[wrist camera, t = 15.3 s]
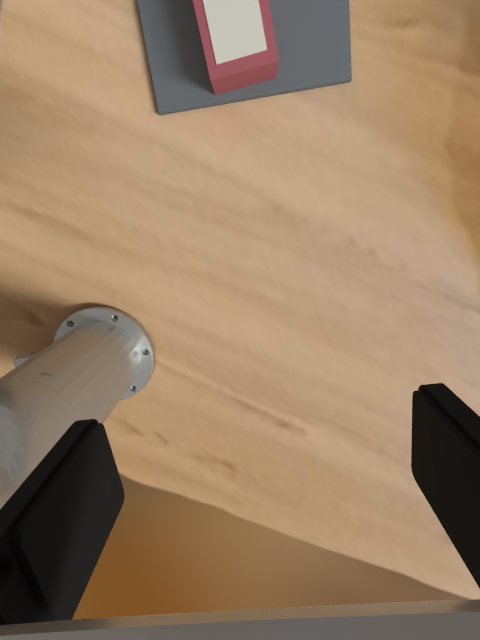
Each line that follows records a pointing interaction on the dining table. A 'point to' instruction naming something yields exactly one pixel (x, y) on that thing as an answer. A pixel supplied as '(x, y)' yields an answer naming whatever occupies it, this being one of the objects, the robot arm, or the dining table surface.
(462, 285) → the dining table surface
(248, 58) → the card case
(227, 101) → the rubber mat
